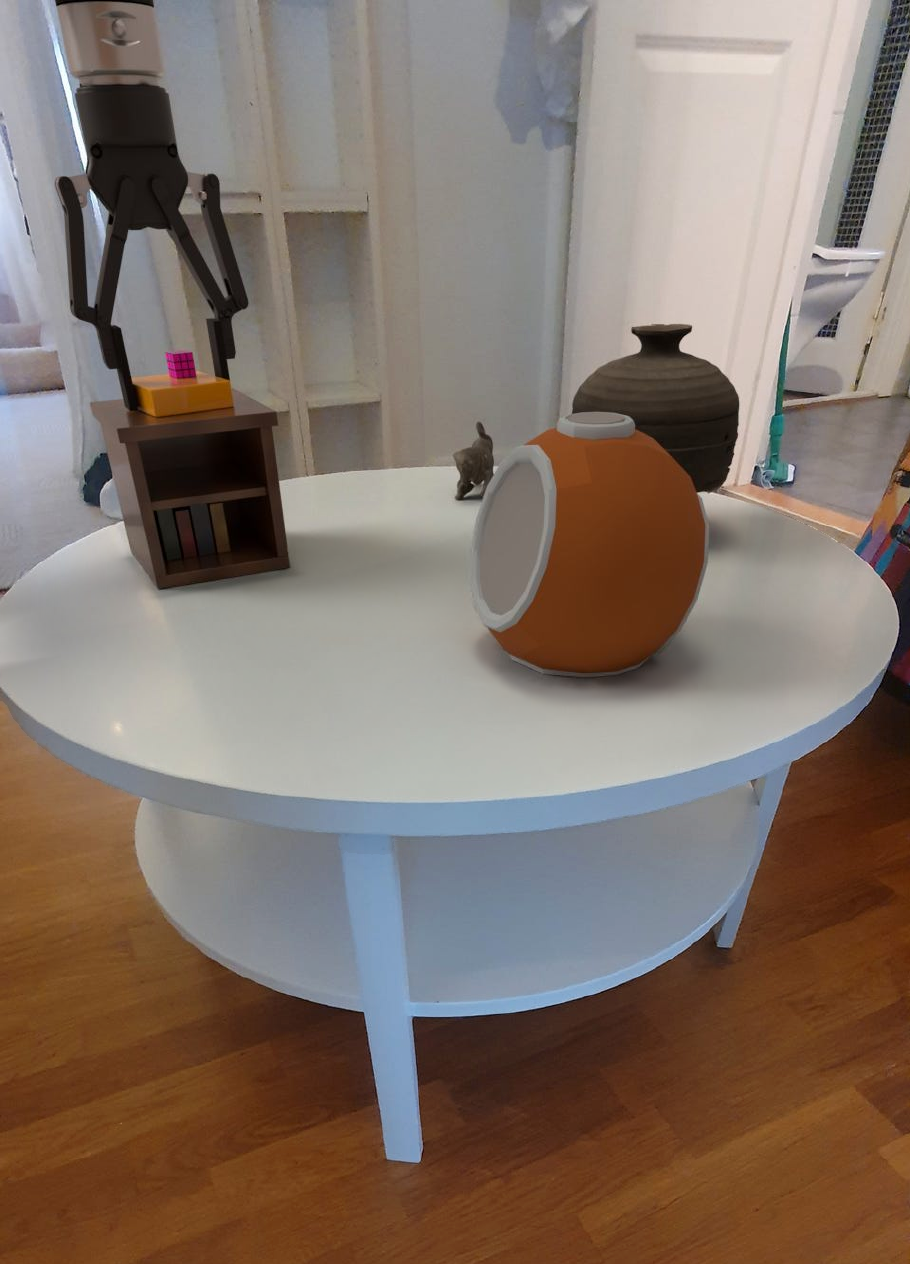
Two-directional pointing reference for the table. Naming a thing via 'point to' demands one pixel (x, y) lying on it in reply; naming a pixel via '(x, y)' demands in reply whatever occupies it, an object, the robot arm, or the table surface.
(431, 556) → the table surface
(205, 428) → the bookcase
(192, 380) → the orange slab with cube
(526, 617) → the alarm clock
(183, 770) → the table surface
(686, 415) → the pot
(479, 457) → the grey cat figurine
